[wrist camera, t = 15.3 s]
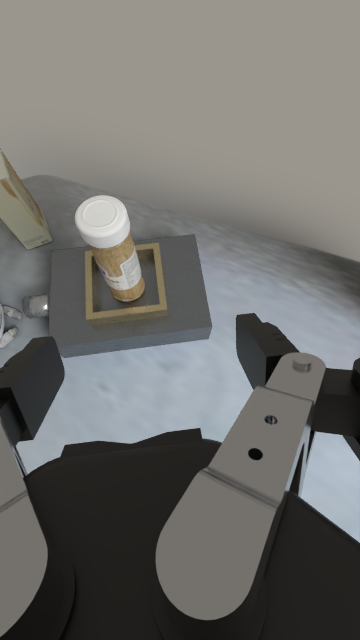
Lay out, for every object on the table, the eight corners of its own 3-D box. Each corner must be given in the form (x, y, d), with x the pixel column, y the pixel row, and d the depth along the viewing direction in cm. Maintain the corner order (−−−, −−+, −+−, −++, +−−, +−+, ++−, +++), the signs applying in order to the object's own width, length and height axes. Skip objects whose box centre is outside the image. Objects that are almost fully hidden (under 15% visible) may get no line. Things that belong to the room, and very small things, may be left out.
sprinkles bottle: (103, 290, 36) (61, 217, 24) (126, 266, 37) (98, 184, 25) (130, 309, 35) (101, 244, 23) (153, 284, 36) (137, 208, 24)
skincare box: (54, 241, 45) (10, 179, 34) (27, 251, 44) (-26, 190, 33) (43, 213, 47) (-1, 145, 36) (18, 222, 47) (-35, 155, 35)
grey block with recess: (193, 254, 44) (195, 224, 37) (208, 338, 39) (213, 321, 32) (39, 272, 43) (14, 245, 36) (35, 361, 38) (4, 348, 31)
